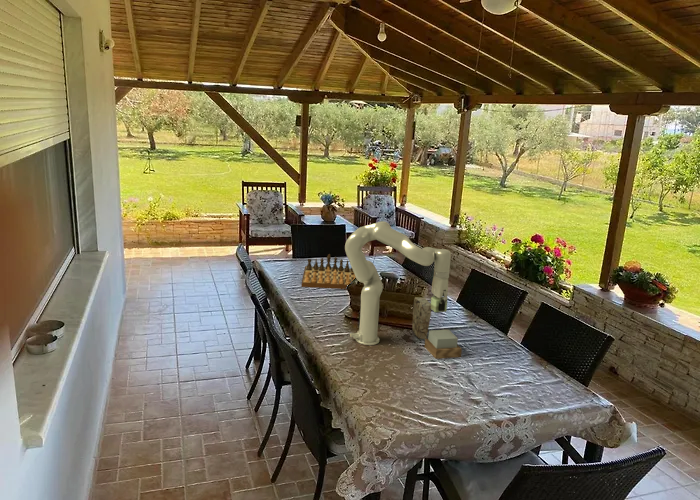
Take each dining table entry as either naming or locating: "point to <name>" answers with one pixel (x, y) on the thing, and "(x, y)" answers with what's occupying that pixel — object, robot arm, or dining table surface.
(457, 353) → the walnut slab
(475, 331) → the dining table surface
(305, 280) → the chess set
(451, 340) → the sage green flat block
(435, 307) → the sage cube
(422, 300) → the stone block
